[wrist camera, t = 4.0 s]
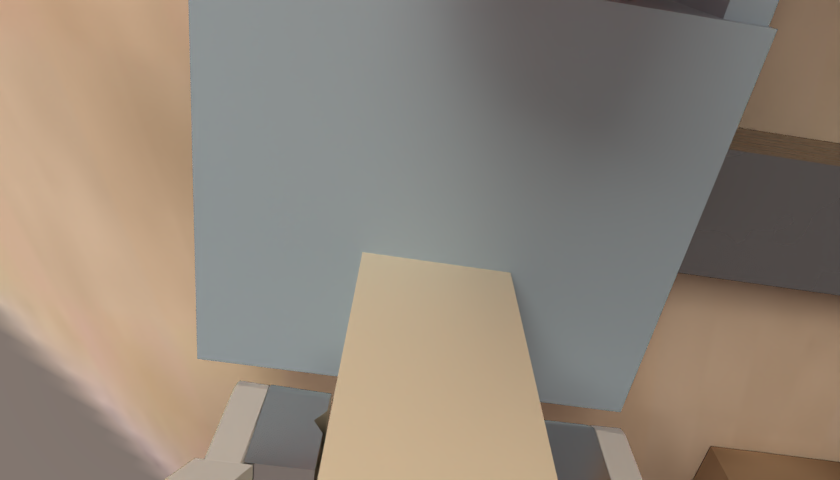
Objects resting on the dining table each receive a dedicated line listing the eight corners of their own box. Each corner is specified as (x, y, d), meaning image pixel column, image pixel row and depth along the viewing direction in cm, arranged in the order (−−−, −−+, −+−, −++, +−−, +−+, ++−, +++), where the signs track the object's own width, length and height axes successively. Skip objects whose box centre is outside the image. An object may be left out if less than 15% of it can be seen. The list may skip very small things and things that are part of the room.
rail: (1173, 195, 15) (1272, 233, 13) (1092, 296, 16) (1171, 342, 15) (280, 55, 14) (258, 76, 12) (274, 178, 15) (254, 212, 13)
